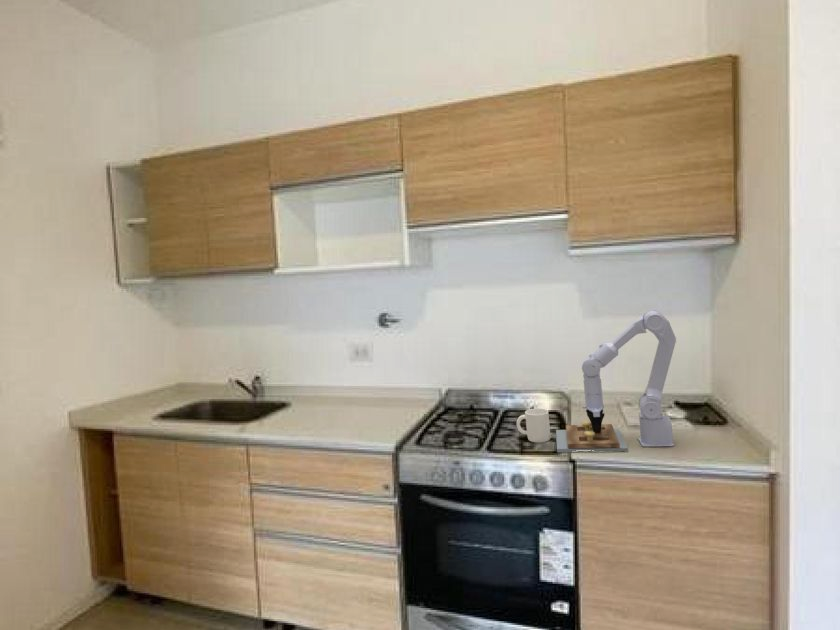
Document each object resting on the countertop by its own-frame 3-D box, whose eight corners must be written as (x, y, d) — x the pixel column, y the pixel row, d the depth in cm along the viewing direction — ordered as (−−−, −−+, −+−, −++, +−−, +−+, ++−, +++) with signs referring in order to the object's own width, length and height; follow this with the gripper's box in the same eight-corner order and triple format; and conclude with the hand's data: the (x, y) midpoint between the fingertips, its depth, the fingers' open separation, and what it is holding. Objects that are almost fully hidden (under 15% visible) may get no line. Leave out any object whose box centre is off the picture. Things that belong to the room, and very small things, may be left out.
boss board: (619, 431, 173) (618, 417, 173) (627, 451, 154) (626, 436, 153) (556, 433, 179) (555, 419, 178) (557, 452, 160) (555, 437, 159)
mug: (515, 442, 174) (512, 414, 174) (520, 434, 182) (518, 408, 181) (548, 443, 169) (545, 415, 168) (552, 435, 176) (550, 408, 176)
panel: (612, 427, 173) (610, 413, 173) (619, 447, 154) (618, 431, 154) (566, 428, 178) (565, 414, 177) (568, 448, 158) (566, 432, 158)
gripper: (579, 388, 173) (583, 425, 173) (582, 398, 159) (586, 438, 159) (600, 387, 171) (603, 424, 171) (605, 397, 157) (608, 438, 157)
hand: (596, 431), depth 165 cm, fingers closed on panel, 2 cm apart
